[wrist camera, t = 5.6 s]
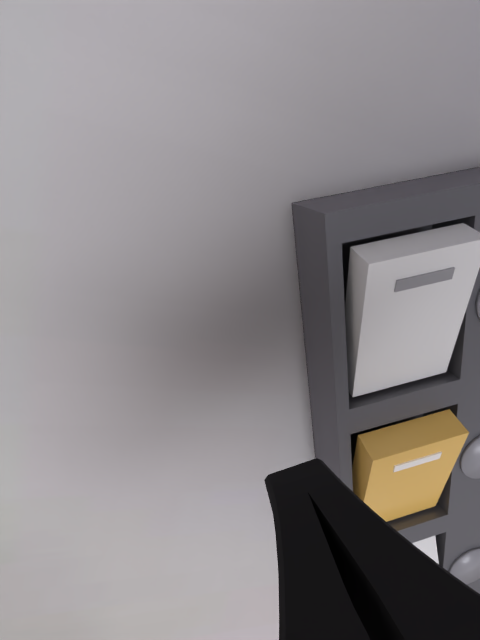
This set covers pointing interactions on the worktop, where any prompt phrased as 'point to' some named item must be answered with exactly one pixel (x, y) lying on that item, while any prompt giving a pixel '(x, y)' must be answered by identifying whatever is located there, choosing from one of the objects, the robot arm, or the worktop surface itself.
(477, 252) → the rocker
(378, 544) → the robot arm
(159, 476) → the worktop surface
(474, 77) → the worktop surface
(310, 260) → the power strip
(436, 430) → the rocker mid
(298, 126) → the worktop surface
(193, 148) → the worktop surface
